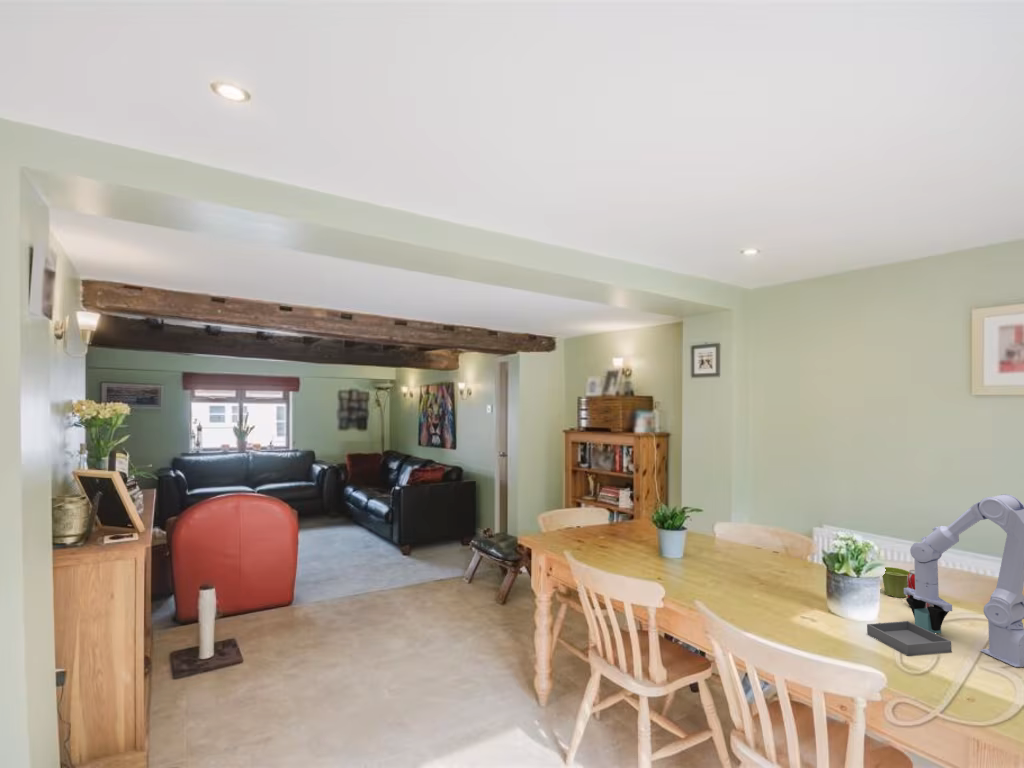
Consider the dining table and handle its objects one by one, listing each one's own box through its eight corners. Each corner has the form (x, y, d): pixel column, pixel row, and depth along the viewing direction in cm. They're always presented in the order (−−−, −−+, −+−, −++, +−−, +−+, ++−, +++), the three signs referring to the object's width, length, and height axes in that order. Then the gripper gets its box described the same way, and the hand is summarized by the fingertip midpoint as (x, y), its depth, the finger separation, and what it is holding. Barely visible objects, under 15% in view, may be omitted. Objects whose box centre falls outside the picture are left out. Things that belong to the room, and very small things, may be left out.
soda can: (908, 602, 188) (907, 567, 188) (934, 607, 183) (933, 571, 184) (907, 608, 182) (906, 572, 183) (933, 613, 178) (932, 577, 178)
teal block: (941, 633, 163) (940, 613, 163) (928, 634, 162) (927, 614, 163) (927, 627, 167) (926, 608, 168) (914, 628, 167) (914, 609, 167)
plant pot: (917, 600, 189) (916, 575, 190) (887, 598, 191) (886, 574, 192) (903, 591, 199) (902, 567, 199) (875, 589, 201) (874, 566, 201)
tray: (951, 652, 151) (951, 641, 151) (907, 655, 149) (907, 644, 149) (907, 630, 165) (907, 621, 165) (867, 634, 163) (867, 624, 163)
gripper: (894, 574, 172) (895, 617, 172) (937, 590, 158) (938, 637, 157) (914, 573, 173) (915, 616, 173) (957, 589, 159) (959, 635, 158)
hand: (927, 626), depth 165 cm, fingers open, 5 cm apart
